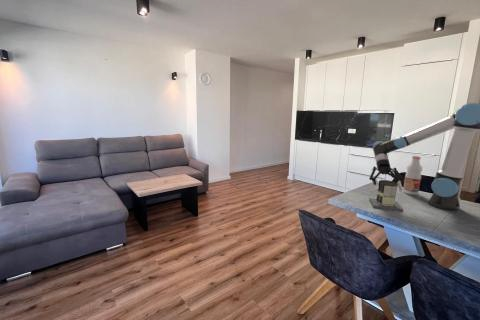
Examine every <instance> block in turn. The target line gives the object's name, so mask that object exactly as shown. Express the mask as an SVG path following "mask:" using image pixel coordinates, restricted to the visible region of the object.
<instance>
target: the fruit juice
mask: <svg viewBox="0 0 480 320" xmlns="http://www.w3.org/2000/svg"><path fill="white" fill-rule="evenodd" d="M411 158H412V159H411V161H410V163H408V165H407V166H406V172H405V176H404V179H405V180H404V181H403V182H404V183H403V186H402V189H403V190H402V193H404V194H406V195H412V196H417V195H418V194H419V190H420V185H421V180H422V171H423V167H422V165H421V163H420V162H421V161H420V160H421V158H422V157H421V156H418V155H417V156H416V155H413V156H412V157H411Z"/></svg>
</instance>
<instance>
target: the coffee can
mask: <svg viewBox="0 0 480 320" xmlns="http://www.w3.org/2000/svg"><path fill="white" fill-rule="evenodd" d="M378 186H379V189H378V190H377V192H376V198H375V199H376V202H377V203H378V204H381V205H384V206H394V203H395V201H396V196H397V190H398V183H397V181H393V180H388V179H386V180H385V179H380V180H378Z"/></svg>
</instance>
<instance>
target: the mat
mask: <svg viewBox="0 0 480 320" xmlns="http://www.w3.org/2000/svg"><path fill="white" fill-rule="evenodd" d="M369 202H370V204H371V206H372V208H375V209H381V210H389V211H396V212H404V208H403V206H401V204H400V203H399V202H398V201H396V200H395V203H394V206H384V205H381V204H378V203H377V202H376V198H374V197H373V198H371V197H369Z"/></svg>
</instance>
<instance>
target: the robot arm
mask: <svg viewBox="0 0 480 320" xmlns="http://www.w3.org/2000/svg"><path fill="white" fill-rule="evenodd" d="M453 129H454V130H453ZM451 130H453V134H452V137H451V140H450V143H449V146H448V149H447V151H446V155H445V158H444V161H443V163H442V165H441V169H439V170H437V171H436V174H435V175H434V179H433V181H432V182H431V190H432V192H433V194H432V195H431V196H430V198H429V199H428V204H429V205H431V206H432V207H435V208H437V209H441V210H446V211H459V210H460V208H461V206H460V201H459V200H460V199H459V194H460V191H461V190H460V188H461V184H462V181H463V177H464V176H463V174H462V170H463V167H464V166H465V165H464V164H465V161H466V159H467V156H468V154H469V151H470V148H471V146H472V143H473V141H474V139H475V138H474V137H475V134H476V133H477V132H479V131H480V103H479V102H470V103H465V104H463V105H461V106H459V108H457V110H456V112H453V113H451V114H450V116H448V117H445V118H443V119H440V120H438V121H437V122H434V123H432V124H429V125H426V126H424V127H422V128H419V129H416V130H414V131H412V132H409V133H407V134H405V135H400V136H397V137H394V138H392V139H390V140H388V141H385V142H384V141H382V140H379V141H375V142H374V143H373V144H372V151H373V155H374V159H375V162H376V163H375V164H376V166H373V167H372V168H371V169H372V171H371V173H370V176H369V180H370V181H371V182H372V184H373V186H374V187H375V190H376V191H378V189H379V186H378V185H379V180H378V179H377V178H378V177H379V176H380V175H386V176H387V175H388V176H390V177H392V178H393V179H394V181H395V182H396V183H398V185H397V189H398V192H400V193H401V192H403V187H404V183H403V182H404V181H405V177H403V175H402V174H401V173H400V172H399V171H398V170H397V168H396V167H393V168H391V164H390V160H389V156H388V154H389V153H393V152H394V151H397V150H400V149H404V148H407V147H409V146H411V145H414V144H416V143H419V142H422V141H425V140H428V139H430V138H432V137H436V136H437V135H440V134H443V133H445V132H448V131H451ZM376 171H378V172H377V174H376V175H375V173H376ZM374 175H375V176H374Z"/></svg>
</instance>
